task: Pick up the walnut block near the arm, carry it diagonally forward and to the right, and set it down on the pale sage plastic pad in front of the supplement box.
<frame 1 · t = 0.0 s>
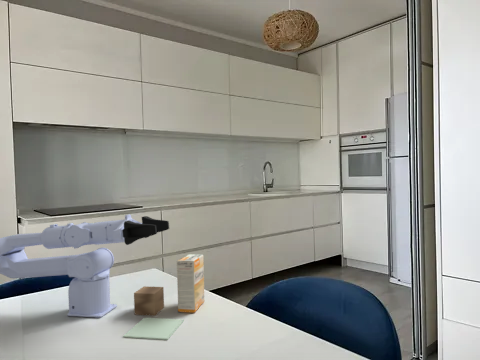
hand: (162, 227, 88), 22 cm above the table, tool horizontal, fingers open, 7 cm apart
supplement box: (192, 307, 93), on the table
walnut block: (149, 311, 91), on the table
sage pad: (155, 328, 80), on the table
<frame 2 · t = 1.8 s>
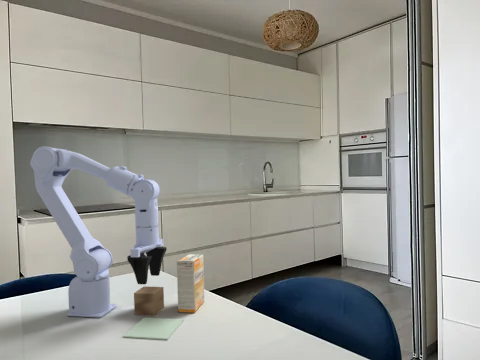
hand: (148, 279, 91), 8 cm above the table, tool pointing down, fingers open, 7 cm apart
nothing on the table moved.
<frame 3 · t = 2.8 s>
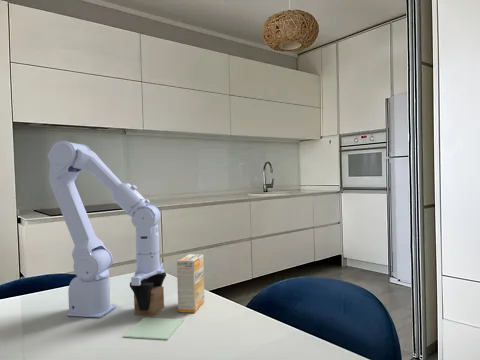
hand: (149, 305, 91), 1 cm above the table, tool pointing down, fingers closed on walnut block, 5 cm apart
walnut block: (149, 311, 91), on the table, touching gripper
everything else where it was.
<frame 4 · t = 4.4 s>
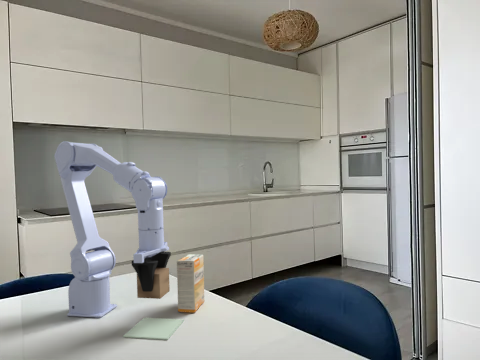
hand: (153, 286, 83), 9 cm above the table, tool pointing down, fingers closed on walnut block, 5 cm apart
walnut block: (153, 294, 83), point 7 cm above the table, touching gripper
everything else where it was.
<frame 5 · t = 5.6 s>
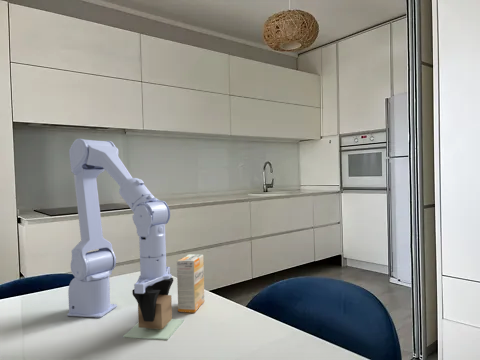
hand: (154, 315, 80), 3 cm above the table, tool pointing down, fingers closed on walnut block, 5 cm apart
walnut block: (155, 323, 80), point 1 cm above the table, touching gripper
everything else where it was.
when the fingers open (3 cm above the table, at t = 6.3 s): walnut block stays where it is, resting on sage pad.
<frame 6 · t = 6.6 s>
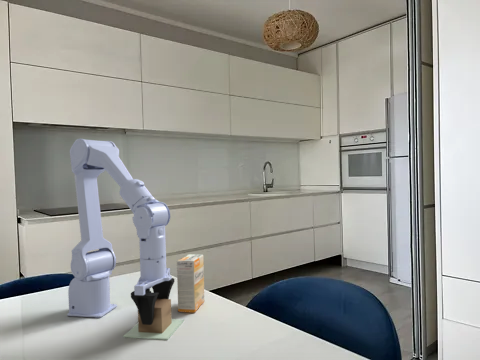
hand: (154, 317, 80), 3 cm above the table, tool pointing down, fingers open, 7 cm apart
walnut block: (155, 327, 80), resting on sage pad
everything else where it was.
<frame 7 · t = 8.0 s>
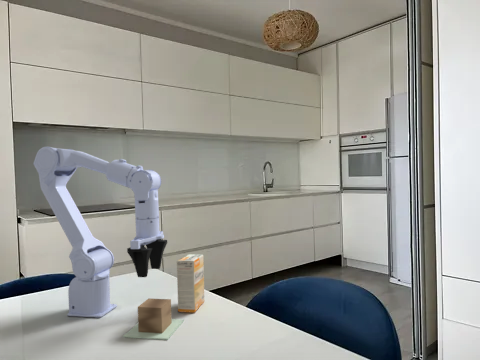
hand: (149, 272, 89), 10 cm above the table, tool pointing down, fingers open, 7 cm apart
nothing on the table moved.
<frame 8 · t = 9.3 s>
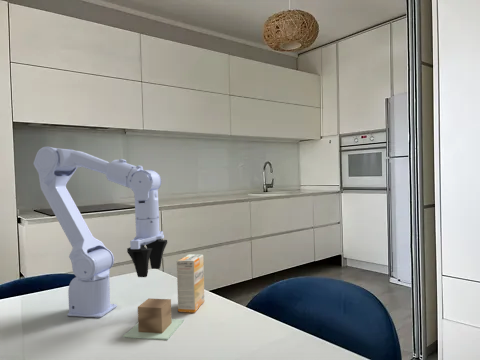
hand: (149, 272, 89), 10 cm above the table, tool pointing down, fingers open, 7 cm apart
nothing on the table moved.
at the end: walnut block inside the target area on the sage pad (0.1 cm from its centre), point 0.3 cm above the sage pad's base; walnut block tilted 0°; the gripper is holding nothing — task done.
